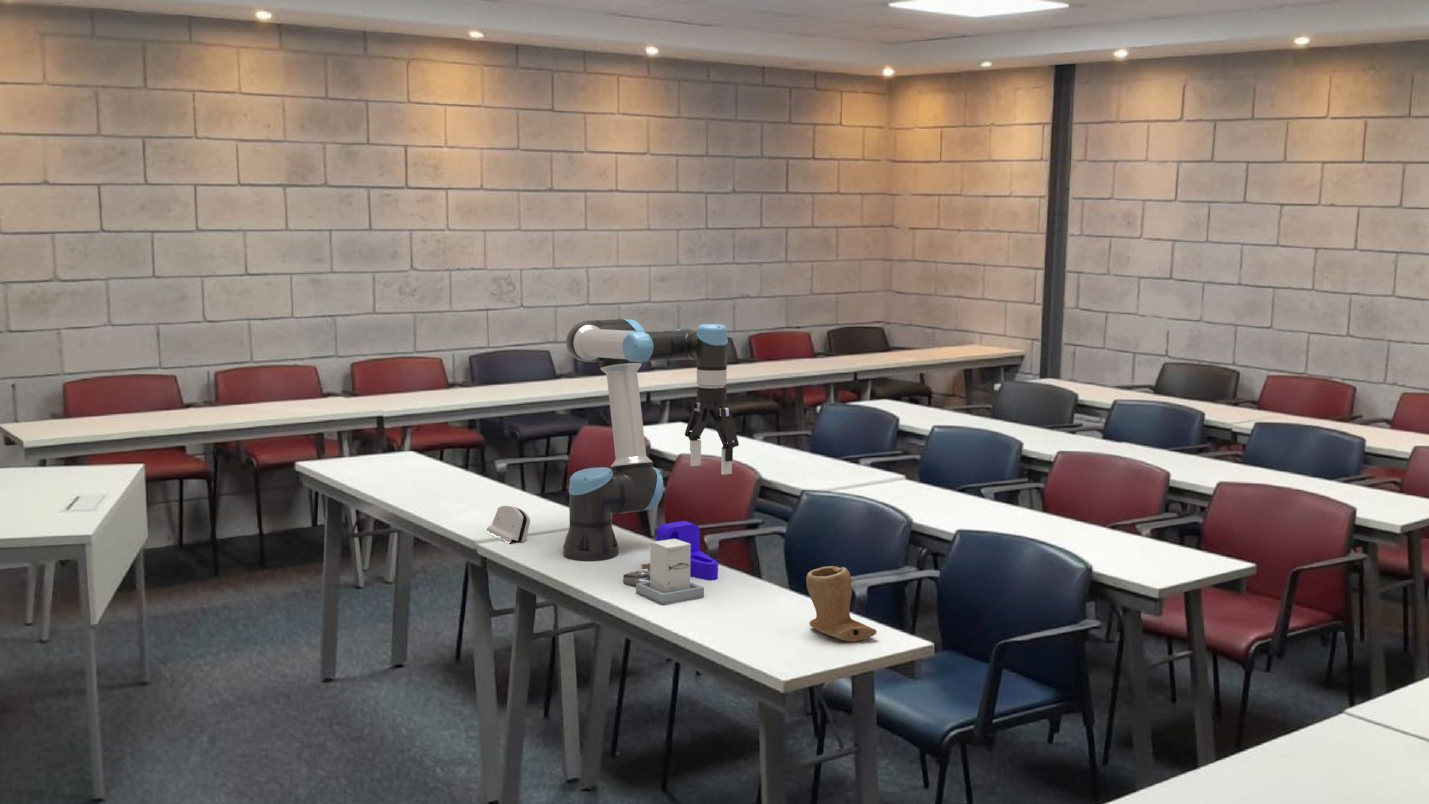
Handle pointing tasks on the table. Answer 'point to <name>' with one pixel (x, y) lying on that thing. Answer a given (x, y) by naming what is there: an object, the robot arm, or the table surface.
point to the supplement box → (670, 565)
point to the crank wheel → (637, 576)
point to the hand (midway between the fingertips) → (710, 469)
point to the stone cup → (834, 604)
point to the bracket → (690, 534)
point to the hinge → (510, 524)
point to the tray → (670, 597)
